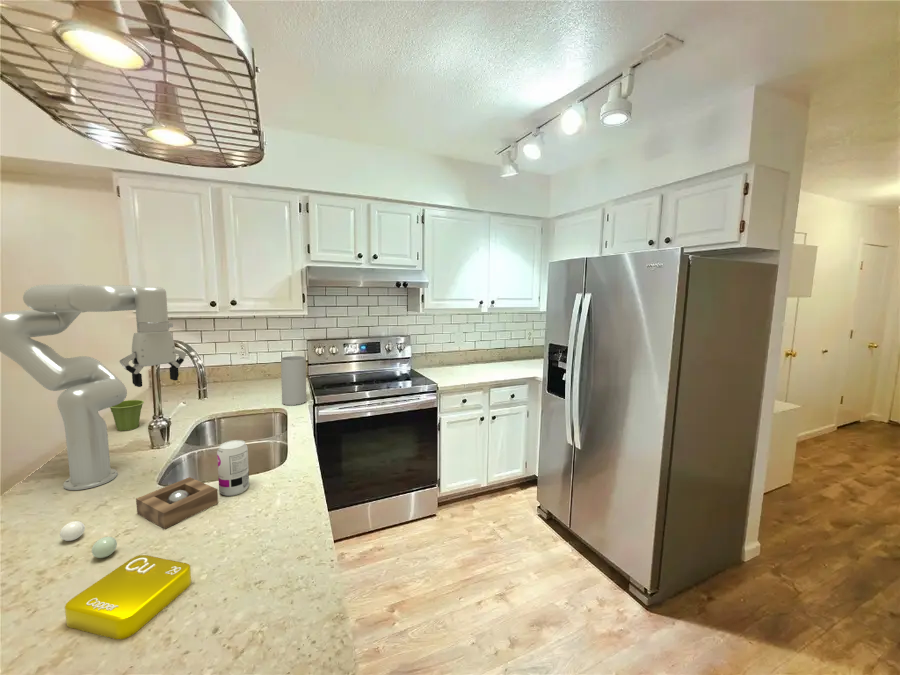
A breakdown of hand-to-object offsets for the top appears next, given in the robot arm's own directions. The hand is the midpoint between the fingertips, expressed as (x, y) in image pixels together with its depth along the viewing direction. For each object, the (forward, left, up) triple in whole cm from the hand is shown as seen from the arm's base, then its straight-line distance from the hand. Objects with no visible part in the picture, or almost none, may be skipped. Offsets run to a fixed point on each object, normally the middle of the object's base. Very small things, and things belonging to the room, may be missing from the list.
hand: (156, 382), depth 117 cm
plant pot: (-65, +18, -34) cm, 75 cm away
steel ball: (+19, -5, -31) cm, 36 cm away
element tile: (+45, -27, -34) cm, 62 cm away
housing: (+18, -5, -33) cm, 38 cm away
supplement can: (+22, +9, -34) cm, 41 cm away
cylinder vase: (-36, +82, -34) cm, 96 cm away
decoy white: (+10, -25, -31) cm, 41 cm away
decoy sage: (+24, -24, -31) cm, 46 cm away
